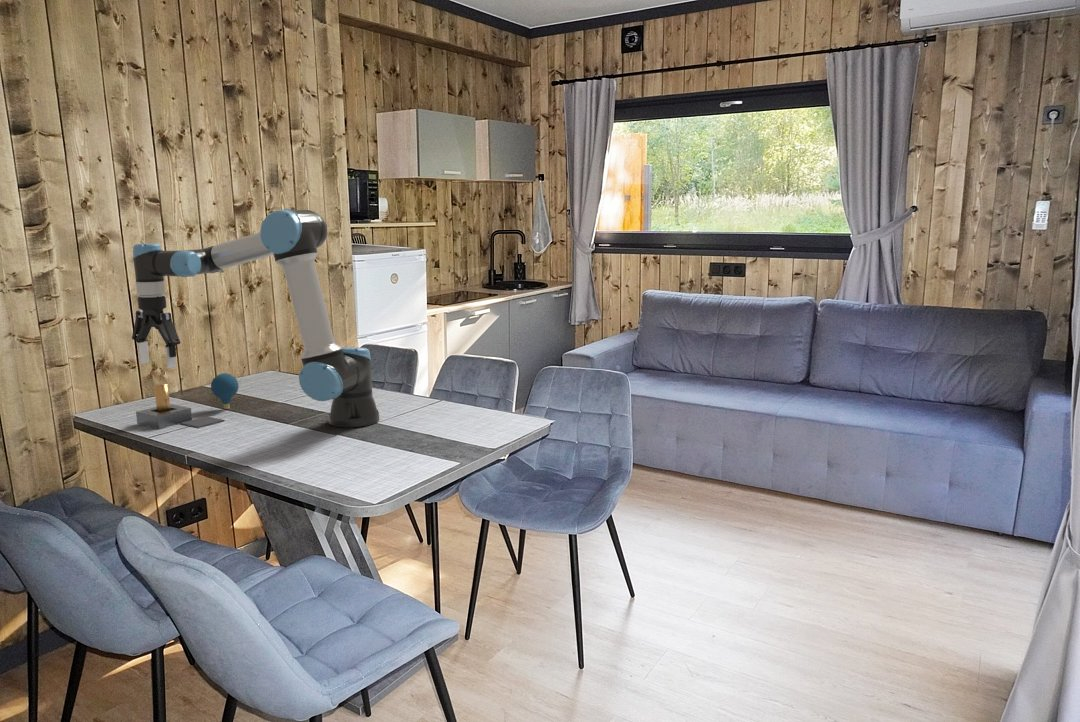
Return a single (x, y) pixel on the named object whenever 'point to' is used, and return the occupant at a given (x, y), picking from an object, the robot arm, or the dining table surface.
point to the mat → (202, 422)
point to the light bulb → (224, 388)
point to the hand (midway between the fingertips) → (158, 365)
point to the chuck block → (163, 417)
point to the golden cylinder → (162, 397)
